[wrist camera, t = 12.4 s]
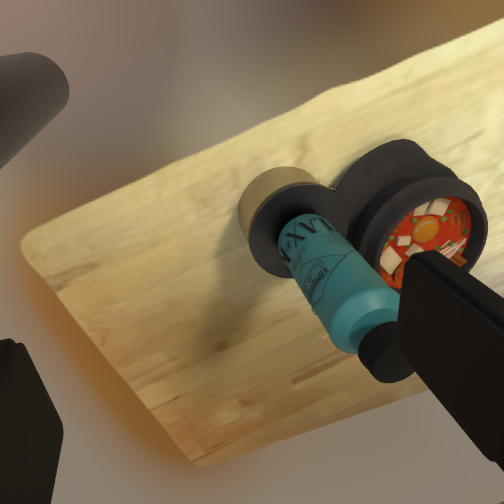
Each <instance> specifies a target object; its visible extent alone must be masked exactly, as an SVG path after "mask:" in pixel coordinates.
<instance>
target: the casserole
mask: <svg viewBox="0 0 504 504" xmlns="http://www.w3.org/2000/svg"><path fill="white" fill-rule="evenodd" d="M335 193H336V194H337V195H338V196H339V197H340V199H341V200H342V201H343V203H344V205H345V207H346V210H347V213H348V221H349V226H348V233H347V237H346V239H347V240H348V241H349V242H351V244H352V245H354V246H352V245H351V246H352V247H353V248H354V249H355V250H356V251H357V252H358V253H359V254H360V255H361V256H363V259H364V260H365V261H366V262H367V263H368V264H369V265H370V266H371V267H372V268H373V269H374V270H375V271H376V272H377V273H378V275H379V276H380V277H381V278H382V279H383V280H384V281H385V282H386V283H387V284H388V285H389V286H390V287H391V288H392V289H393V290H395V291H396V292H397V293H398V294H399V295H400V293H401V286H402V278H403V270H404V264H405V262H406V261H407V260H409V257H410V256H411V255H412V254H413V253H418V252H422V251H427V250H437V251H439V252H440V253H442V254H443V255H444V256H446V257H447V258H448V259H450V260H451V261H453V262H454V263H455V264H457V265H458V266H460V267H461V268H462V269H464V270H465V271H466V272H468V273H469V271H470V270H471V269H472V268H473V266H474V265H475V264H476V262H477V260H478V259H479V257H480V255H481V253H482V251H483V248H484V246H485V243H486V238H487V234H488V221H487V216H486V213H485V211H484V209H483V207H482V203H481V201H480V198H479V196H478V194H477V193H476V192H475V191H474V189H473V188H472V187H471V186H470V185H468V184H467V183H465V182H463V181H462V180H459V179H458V177H457V176H456V175H455V174H454V172H453V171H452V170H451V169H450V168H448V167H446V166H444V165H443V164H441V163H439V162H438V161H436V160H434V159H432V158H431V157H430V156H429V155H428V154H427V153H426V152H425V151H424V150H423V149H422V148H421V147H420V146H419V145H418V144H417V143H415V142H414V141H411V140H407V139H400V140H394V141H391V142H388V143H385V144H383V145H380V146H378V147H377V148H375V149H373V150H372V151H370V152H368V153H367V154H365V155H364V156H363V157H362V158H360V159H359V160H358V161H357V162H356V163H355V164H354V165H353V166H352V167H351V168H350V169H349V170H348V171H347V173H346V174H345V175H344V176H343V178H342V179H341V181H340V183H339V184H338V186H337V188H336V192H335ZM355 247H356V248H355ZM361 253H362V254H361Z"/></svg>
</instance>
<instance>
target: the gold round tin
mask: <svg viewBox="0 0 504 504" xmlns="http://www.w3.org/2000/svg"><path fill="white" fill-rule="evenodd" d="M305 214H316V215H318V216H320V215H321V217H323V216H324V218H325V217H326V220H327V221H328V222H329V223H330V224H331V225H332V226H333V225H334V226H333V227H335V229H336V230H337V231H338V232H340V234H341V235H342V236H343V237H345V238H346V237H347V233H348V226H349V221H348V213H347V210H346V207H345V205H344V203H343V201H342V200H341V199H340V197H339V196H338V195H337V194H336V193H334V192H333V191H332V190H331V189H329V188H328V187H326V186H324V185H322V184H321V183H320V182H318V181H317V180H316V179H315V178H314V177H312V176H311V175H310V174H308V173H307V172H305V171H303V170H301V169H298V168H295V167H278V168H273V169H271V170H268V171H266V172H264V173H262V174H261V175H259V176H258V177H256V178H255V179H254V180H253V181H252V182H251V183H250V184H249V185H248V187H247V188H246V190H245V191H244V193H243V195H242V197H241V200H240V203H239V208H238V219H239V224H240V227H241V229H242V231H243V233H244V235H245V237H246V239H247V241H248V243H249V247H250V250H251V253H252V255H253V257H254V259H255V260H256V262H257V263H258V264H259V266H260V267H261V268H263V269H264V270H265V271H267V272H268V273H270V274H272V275H275V276H277V277H282V278H294V277H293V276H292V274H291V272H290V271H289V272H288V270H287V269H288V268H287V267H286V266H285V265H286V264H285V262H284V261H283V260H282V259H281V255H280V253H279V249H278V240H279V236H280V233H281V231H282V230H283V228H284V227H285V226H286V224H287V223H288V222H290V221H291V220H292V219H294V218H296V217H298V216H300V215H305ZM329 220H330V221H329ZM331 222H332V223H331ZM278 253H279V254H278ZM279 256H280V257H279ZM282 261H283V262H282ZM286 268H287V269H286ZM289 273H290V274H289Z"/></svg>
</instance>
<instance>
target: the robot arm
mask: <svg viewBox="0 0 504 504" xmlns="http://www.w3.org/2000/svg"><path fill="white" fill-rule="evenodd" d="M395 344H396V347H397V349H398V351H399V352H400V354H401V355H402V356H403V357H404V358H405V360H406V361H407V362H408V363H409V365H410V366H411V367H412V368H413V369H414V371H415V372H416V373H417V374H418V376H419V377H420V378H421V379H422V380H423V382H424V383H425V384H426V385H427V386H428V388H429V389H430V390H431V391H432V393H433V394H434V395H435V396H436V397H437V399H438V400H439V401H440V402H441V404H442V405H443V406H444V407H445V408H446V410H447V411H448V412H449V413H450V415H451V416H452V417H453V418H454V419H455V421H456V422H457V423H458V424H459V426H461V428H462V429H463V430H464V432H465V433H466V434H467V435H468V437H469V438H470V439H471V440H472V441H473V443H474V444H475V445H476V446H477V447H478V449H479V450H480V451H481V452H482V454H483V455H484V456H485V457H486V458H487V459H488V460H490V461H493V462H496V463H497V464H498V466H499V467H500V468H501V469H502V470H503V471H504V298H502V297H501V296H500V295H498V294H497V293H495V292H494V291H493V290H491V289H490V288H489V287H487V286H486V285H484V284H483V283H482V282H480V281H479V280H477V279H476V278H475V277H473V276H472V275H471V274H469V273H468V272H466V271H465V270H464V269H462V268H461V267H460V266H458V265H457V264H455V263H454V262H453V261H451V260H450V259H448V258H447V257H446V256H444V255H443V254H442V253H440V252H439V251H437V250H427V251H422V252H418V253H413V254H412V255H411V256H410V257H409V260H407V261H406V262H405V264H404V270H403V278H402V286H401V293H400V301H399V309H398V316H397V324H396V332H395ZM62 441H63V425H62V421H61V419H60V417H59V415H58V413H57V411H56V409H55V407H54V405H53V403H52V401H51V398H50V396H49V394H48V392H47V391H46V388H45V386H44V384H43V382H42V380H41V378H40V376H39V374H38V372H37V370H36V368H35V366H34V364H33V361H32V359H31V357H30V355H29V353H28V351H27V349H26V347H25V346H24V344H23V343H15V341H14V340H12V339H9V338H8V339H3V340H0V504H51V499H52V493H53V489H54V483H55V477H56V473H57V467H58V462H59V456H60V451H61V446H62ZM498 504H504V502H501V503H498Z"/></svg>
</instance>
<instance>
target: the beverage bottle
mask: <svg viewBox="0 0 504 504" xmlns="http://www.w3.org/2000/svg"><path fill="white" fill-rule="evenodd" d="M329 221H330V220H329ZM331 223H332V222H331ZM333 226H334V225H333ZM333 226H332V225H331V224H330V223H329V222H328V221H327V220H326V217H325V218H324V216H323V217H321V215H320V216H318V215H316V214H305V215H300V216H298V217H296V218H294V219H292V220H291V221H290V222H288V223H287V224H286V226H285V227H284V228H283V230H282V231H281V233H280V236H279V240H278V249H279V253H280V255H281V259H282V260H283V261H284V262H285V264H286V265H285V266H286V267H287V268H288V269H287V268H286V269H287V270H288V272H289V271H290V272H291V274H292V276H293V277H294V279H295V280H296V282H297V284H298V285H299V287H300V289H301V290H302V292H303V294H304V295H305V297H306V299H307V300H308V302H309V304H310V305H311V307H312V309H313V310H314V312H315V313H316V314H317V316H318V317H319V319H320V321H321V322H322V324H323V326H324V327H325V329H326V331H327V332H328V334H329V336H330V339H331V341H332V342H333V344H334V345H335V346H336V347H337V348H338V349H340V350H342V351H344V352H346V353H351V354H358V357H359V359H360V361H361V362H362V364H363V365H364V366H365V367H366V368H367V369H368V370H369V372H370V373H371V374H372V375H373V377H374V378H375V379H377V380H378V381H380V382H383V383H395V382H398V381H401V380H403V379H405V378H407V377H409V376H410V375H411V374H413V373H414V372H415V371H414V369H413V368H412V367H411V366H410V365H409V363H408V362H407V361H406V360H405V358H404V357H403V356H402V355H401V354H400V352H399V351H398V349H397V347H396V344H395V332H396V324H397V316H398V309H399V301H400V295H399V294H398V293H397V292H396V291H395V290H393V289H392V288H391V287H390V286H389V285H388V284H387V283H386V282H385V281H384V280H383V279H382V278H381V277H380V276H379V275H378V273H377V272H376V271H375V270H374V269H373V268H372V267H371V266H370V265H369V264H368V263H367V262H366V261H365V260H364V259H363V256H361V255H360V254H359V253H358V252H357V251H356V250H355V249H354V248H353V247H352V246H354V245H352V244H351V242H349V241H348V240H347V239H346V238H345V237H343V236H342V235H341V234H340V232H338V231H337V230H336V229H335V227H333ZM351 245H352V246H351ZM355 248H356V247H355ZM279 253H278V254H279ZM361 254H362V253H361ZM279 257H280V256H279ZM283 261H282V262H283ZM289 274H290V273H289ZM292 279H293V278H292ZM312 309H311V310H312ZM312 312H313V311H312ZM316 314H315V315H316Z"/></svg>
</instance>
